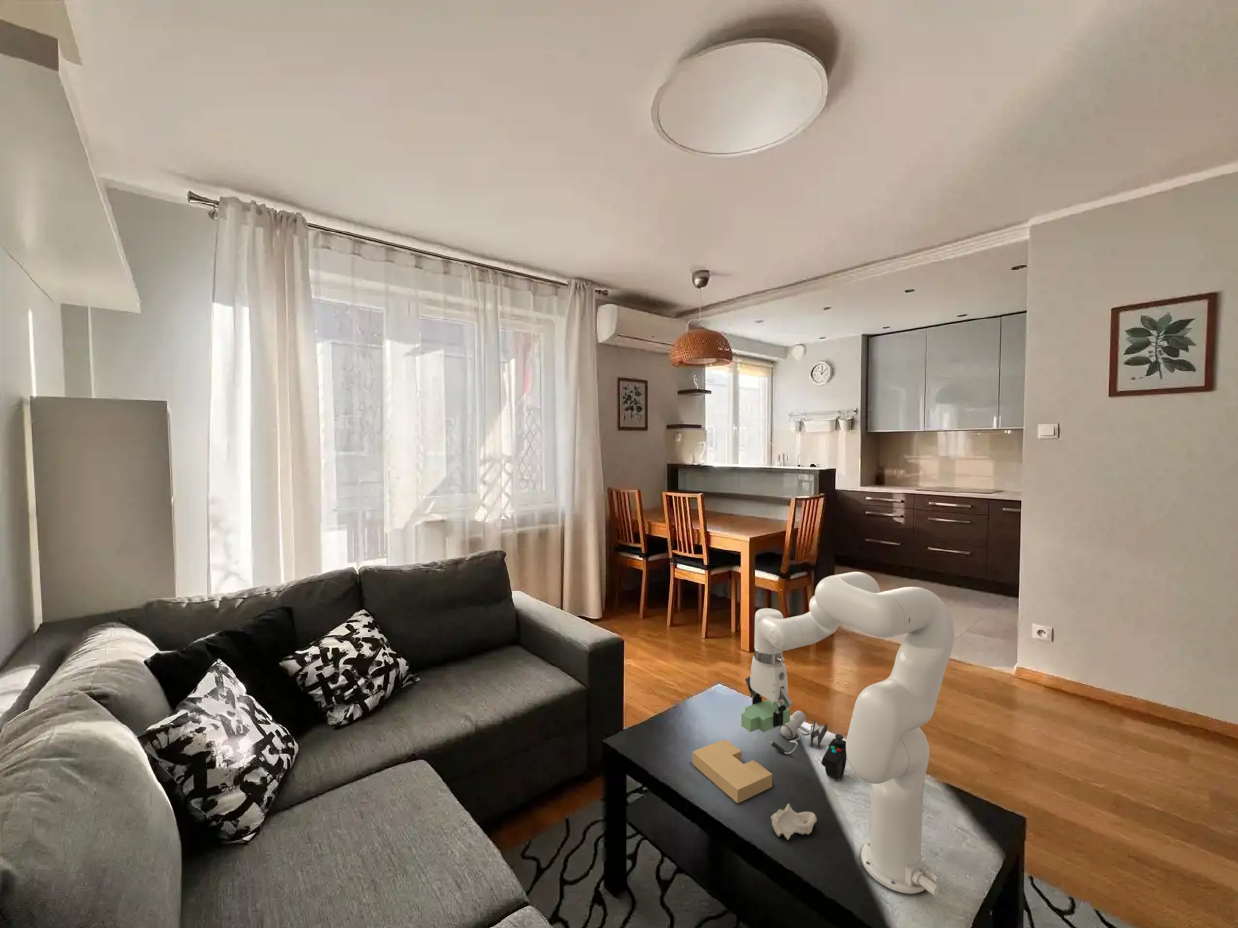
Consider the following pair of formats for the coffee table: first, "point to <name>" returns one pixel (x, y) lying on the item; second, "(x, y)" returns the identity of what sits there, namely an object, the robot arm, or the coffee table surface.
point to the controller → (835, 758)
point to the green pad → (761, 716)
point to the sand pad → (731, 770)
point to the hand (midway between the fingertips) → (767, 717)
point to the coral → (792, 822)
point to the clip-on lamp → (795, 722)
